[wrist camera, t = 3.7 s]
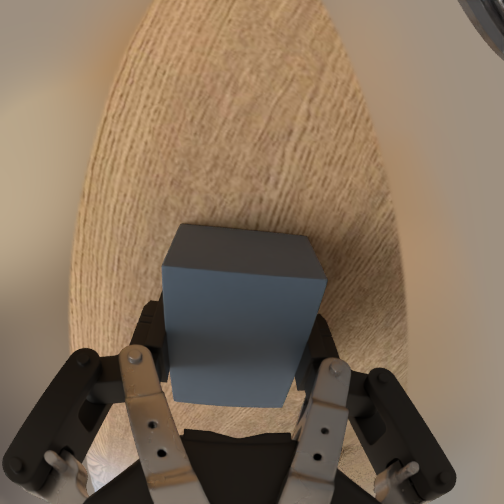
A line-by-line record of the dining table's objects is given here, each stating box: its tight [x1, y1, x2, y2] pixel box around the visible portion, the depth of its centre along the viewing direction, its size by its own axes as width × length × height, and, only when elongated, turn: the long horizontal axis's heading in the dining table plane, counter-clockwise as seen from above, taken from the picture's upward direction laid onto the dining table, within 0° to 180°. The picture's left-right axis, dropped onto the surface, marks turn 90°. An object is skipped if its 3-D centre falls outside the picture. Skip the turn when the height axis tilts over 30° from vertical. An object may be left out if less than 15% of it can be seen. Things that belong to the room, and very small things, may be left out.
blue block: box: [162, 224, 328, 408], centre depth 13 cm, size 8×6×4 cm
